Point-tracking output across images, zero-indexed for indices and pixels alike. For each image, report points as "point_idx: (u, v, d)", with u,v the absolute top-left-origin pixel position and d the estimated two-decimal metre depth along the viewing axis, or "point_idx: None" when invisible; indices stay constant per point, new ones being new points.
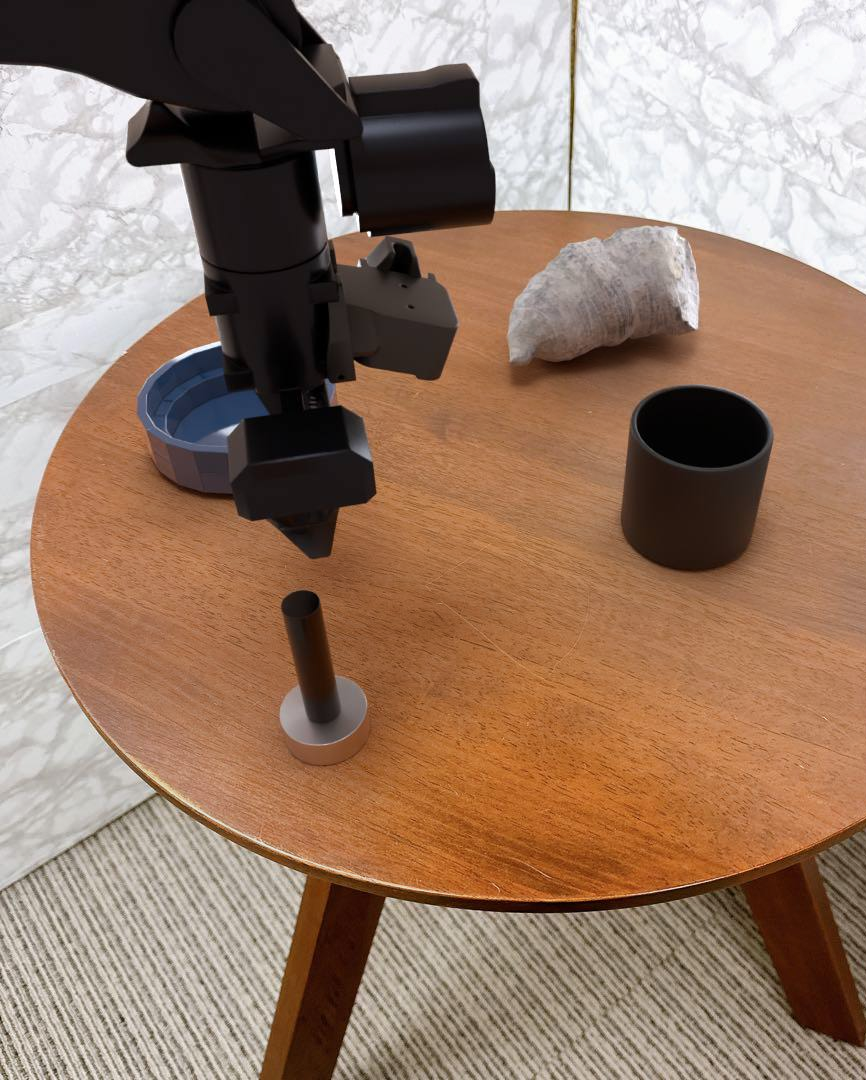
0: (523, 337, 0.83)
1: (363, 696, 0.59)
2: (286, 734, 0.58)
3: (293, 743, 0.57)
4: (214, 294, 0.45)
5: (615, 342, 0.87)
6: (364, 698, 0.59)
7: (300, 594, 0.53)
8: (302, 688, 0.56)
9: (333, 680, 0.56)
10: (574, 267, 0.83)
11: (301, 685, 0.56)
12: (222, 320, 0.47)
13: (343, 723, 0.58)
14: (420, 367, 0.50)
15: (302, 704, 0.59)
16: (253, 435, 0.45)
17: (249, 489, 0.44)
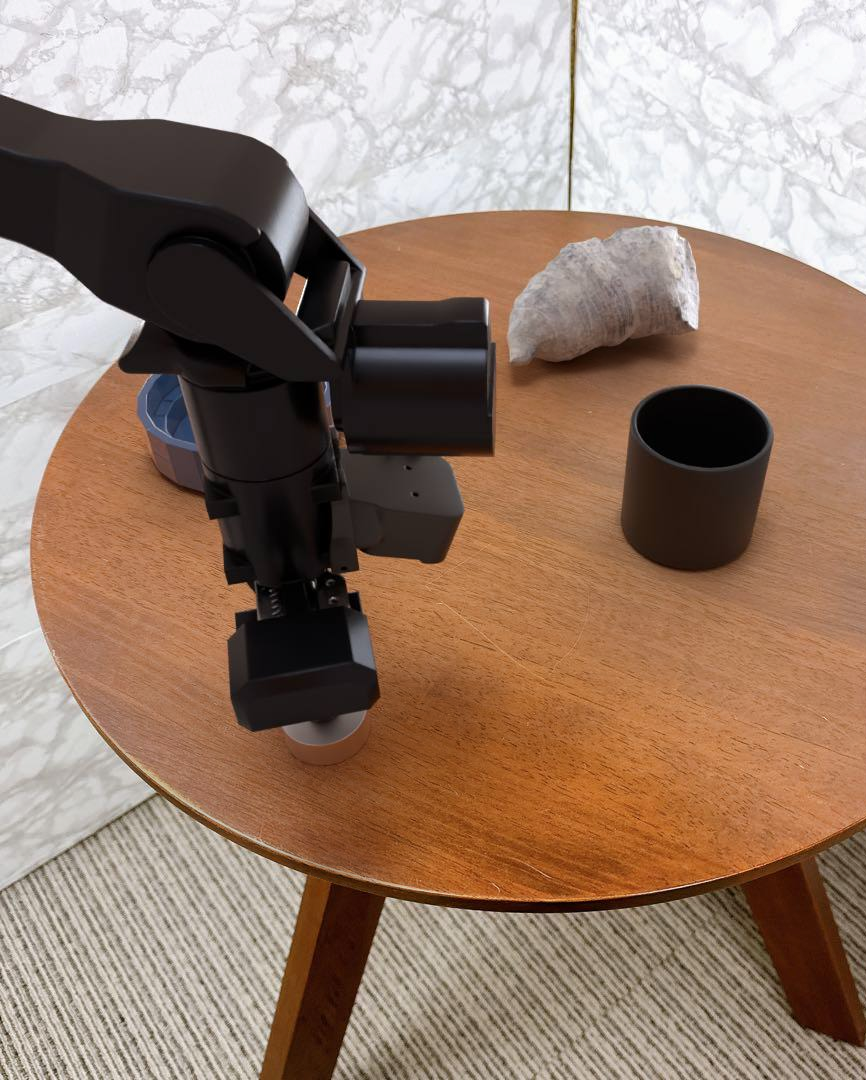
0: (523, 337, 0.83)
1: None
2: (286, 734, 0.58)
3: (293, 743, 0.57)
4: (214, 500, 0.44)
5: (615, 342, 0.87)
6: None
7: None
8: None
9: None
10: (574, 267, 0.83)
11: None
12: (222, 518, 0.45)
13: (343, 723, 0.58)
14: (425, 553, 0.49)
15: None
16: (254, 644, 0.44)
17: (250, 705, 0.43)
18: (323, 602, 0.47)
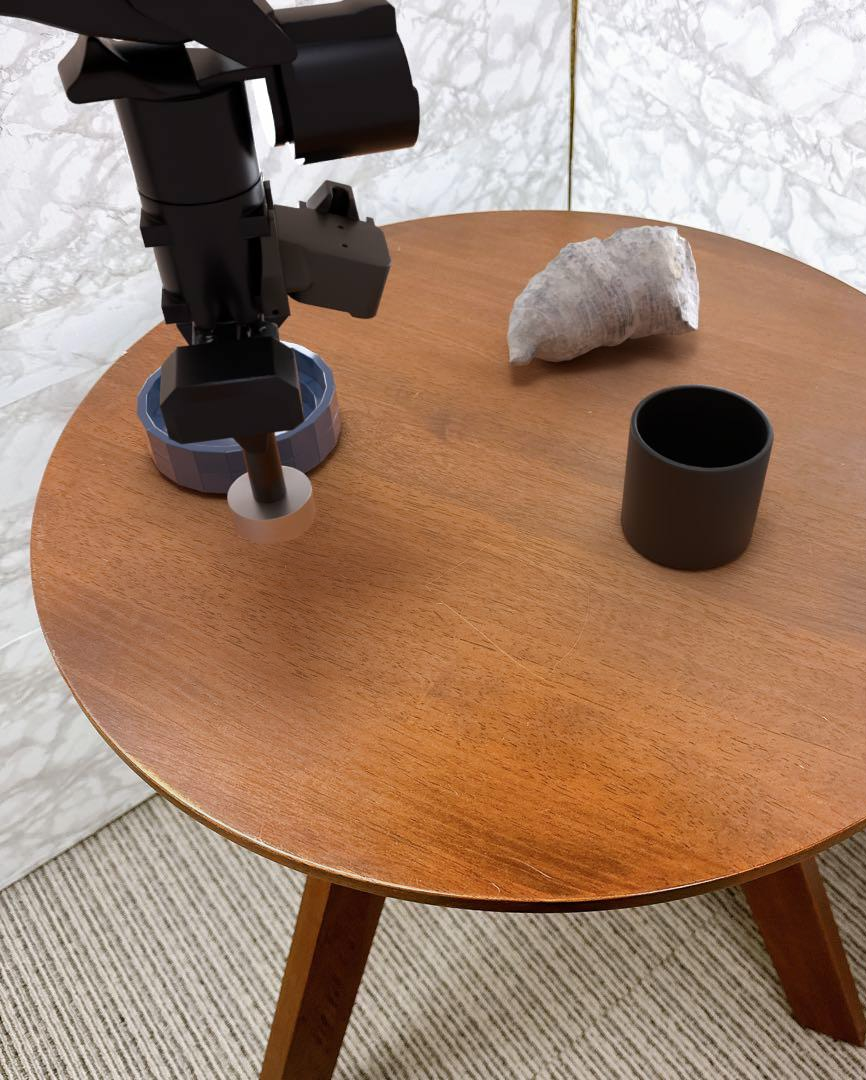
0: (523, 337, 0.83)
1: (308, 482, 0.62)
2: (233, 511, 0.61)
3: (239, 520, 0.60)
4: (148, 225, 0.47)
5: (615, 342, 0.87)
6: (309, 484, 0.62)
7: None
8: (247, 462, 0.59)
9: (277, 457, 0.59)
10: (574, 268, 0.83)
11: (246, 459, 0.59)
12: (159, 253, 0.48)
13: (288, 503, 0.61)
14: (354, 305, 0.52)
15: (250, 487, 0.62)
16: (184, 361, 0.47)
17: (177, 411, 0.46)
18: None
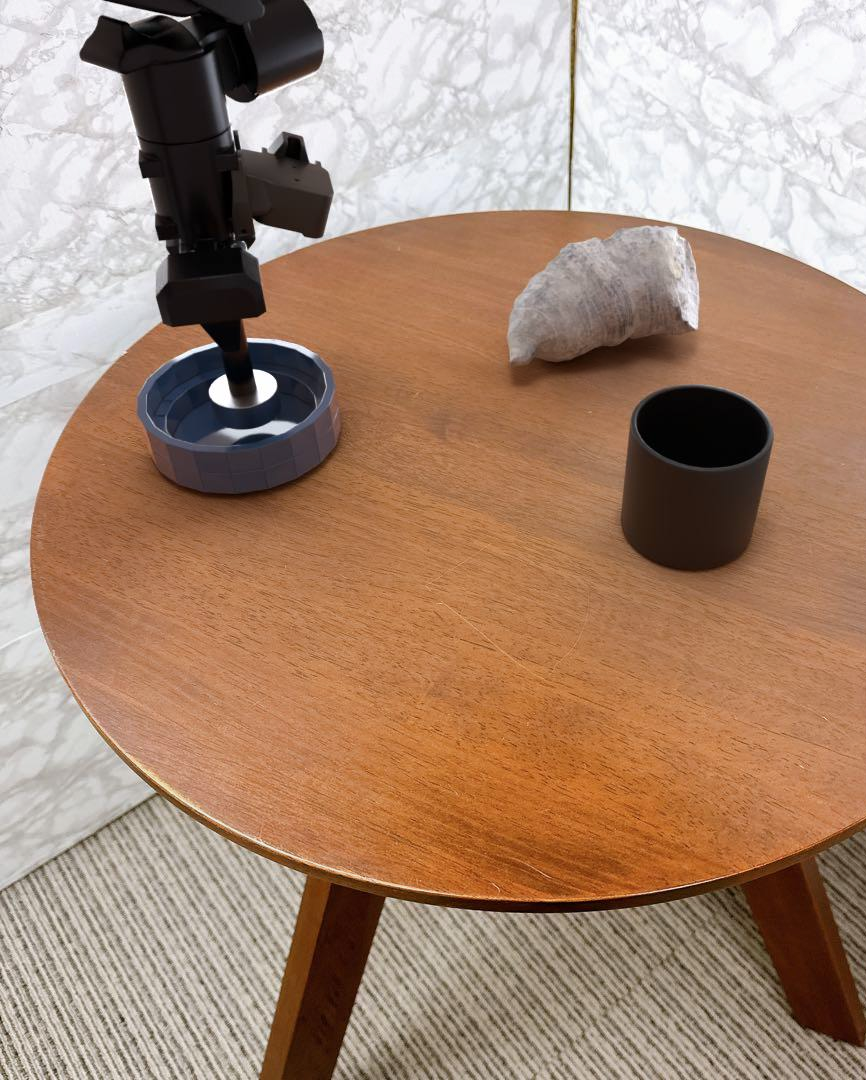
0: (523, 337, 0.83)
1: (274, 381, 0.77)
2: (213, 402, 0.75)
3: (219, 409, 0.75)
4: (145, 161, 0.61)
5: (615, 342, 0.87)
6: (275, 382, 0.77)
7: None
8: (224, 360, 0.74)
9: (248, 357, 0.74)
10: (574, 267, 0.83)
11: (223, 358, 0.74)
12: (153, 184, 0.63)
13: (257, 396, 0.76)
14: (305, 226, 0.67)
15: (227, 385, 0.77)
16: (173, 264, 0.61)
17: (169, 300, 0.60)
18: None
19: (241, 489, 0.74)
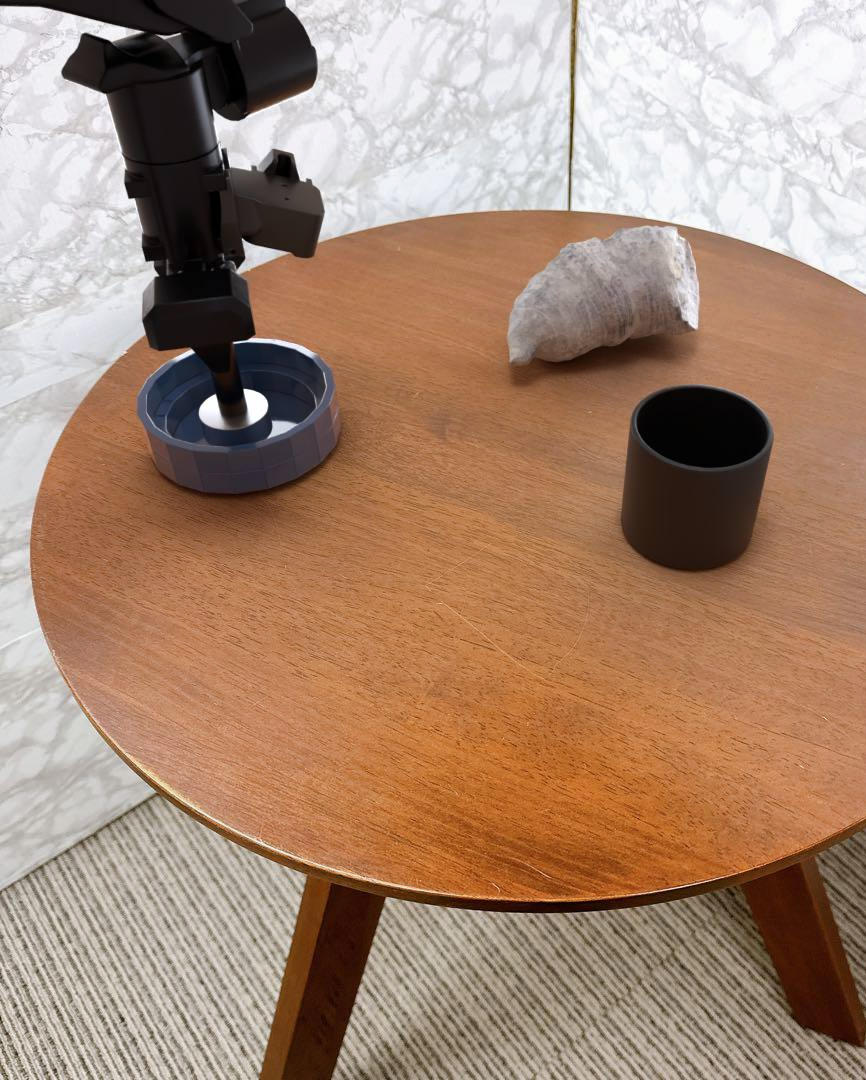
0: (523, 337, 0.83)
1: (265, 401, 0.76)
2: (203, 424, 0.74)
3: (208, 430, 0.74)
4: (131, 181, 0.60)
5: (615, 342, 0.87)
6: (266, 402, 0.76)
7: None
8: (214, 381, 0.72)
9: (238, 377, 0.73)
10: (574, 268, 0.83)
11: (213, 379, 0.72)
12: (139, 204, 0.62)
13: (248, 417, 0.74)
14: (295, 246, 0.65)
15: (217, 405, 0.75)
16: (160, 287, 0.60)
17: (156, 324, 0.59)
18: None
19: (241, 489, 0.74)
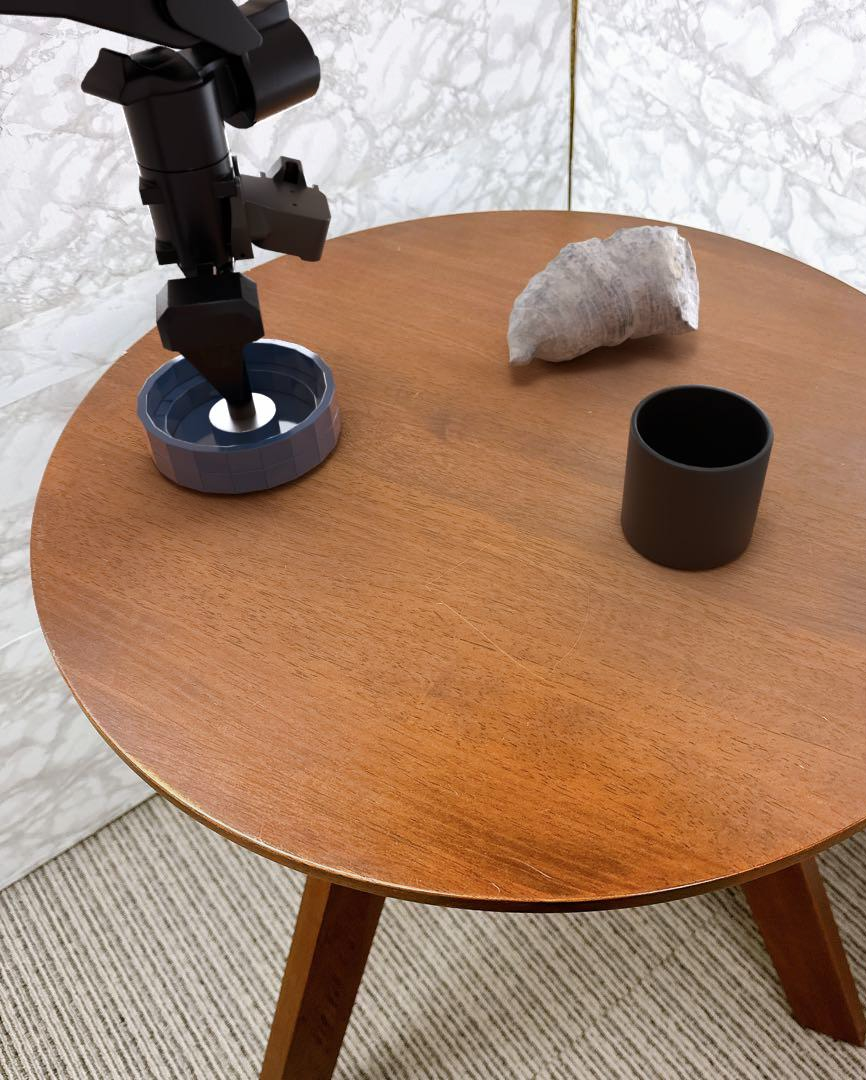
0: (523, 337, 0.83)
1: (273, 405, 0.78)
2: (213, 426, 0.77)
3: (218, 433, 0.77)
4: (145, 188, 0.62)
5: (615, 342, 0.87)
6: (274, 406, 0.78)
7: None
8: None
9: (247, 382, 0.76)
10: (574, 267, 0.83)
11: None
12: (153, 210, 0.64)
13: (257, 419, 0.77)
14: (303, 250, 0.68)
15: (226, 409, 0.78)
16: (173, 290, 0.63)
17: (169, 325, 0.61)
18: None
19: (241, 489, 0.74)
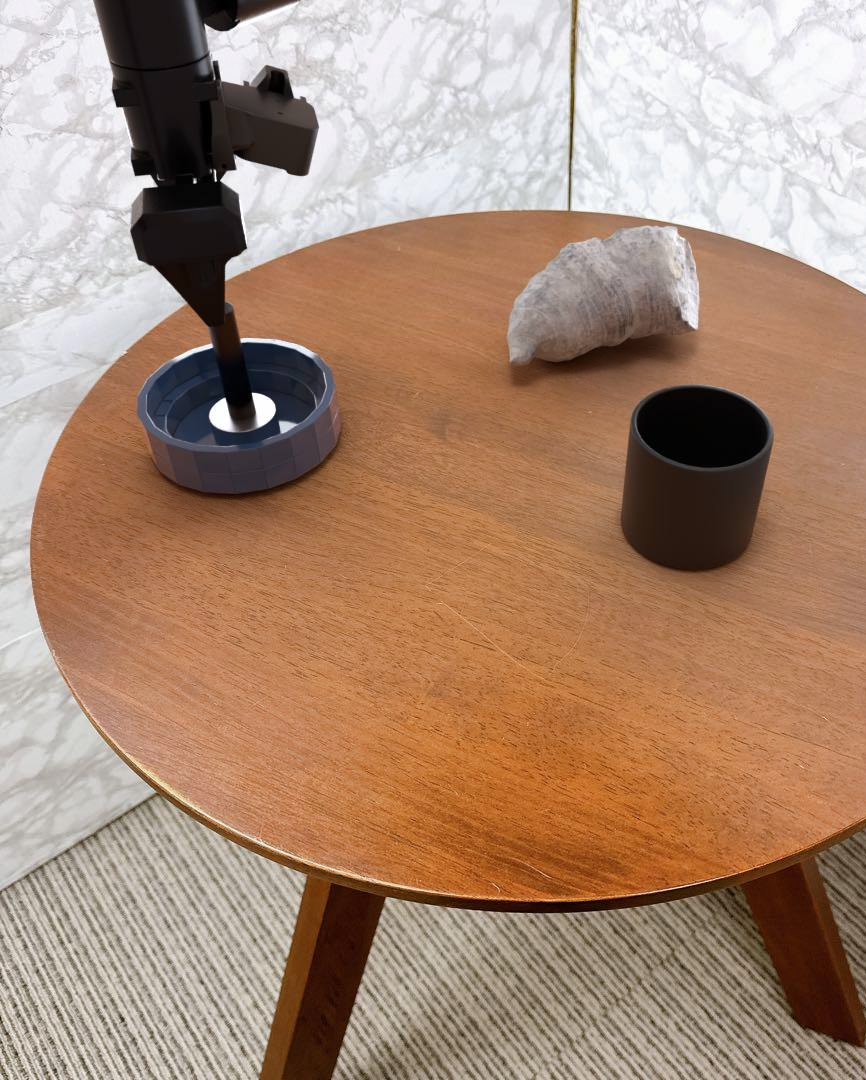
0: (523, 337, 0.83)
1: (273, 405, 0.78)
2: (213, 426, 0.77)
3: (218, 433, 0.77)
4: (119, 88, 0.58)
5: (615, 342, 0.87)
6: (274, 406, 0.78)
7: None
8: (224, 385, 0.75)
9: (247, 382, 0.76)
10: (574, 267, 0.83)
11: (223, 383, 0.75)
12: (128, 114, 0.60)
13: (257, 419, 0.77)
14: (289, 163, 0.64)
15: (226, 409, 0.78)
16: (149, 197, 0.58)
17: (144, 234, 0.57)
18: None
19: (241, 489, 0.74)
